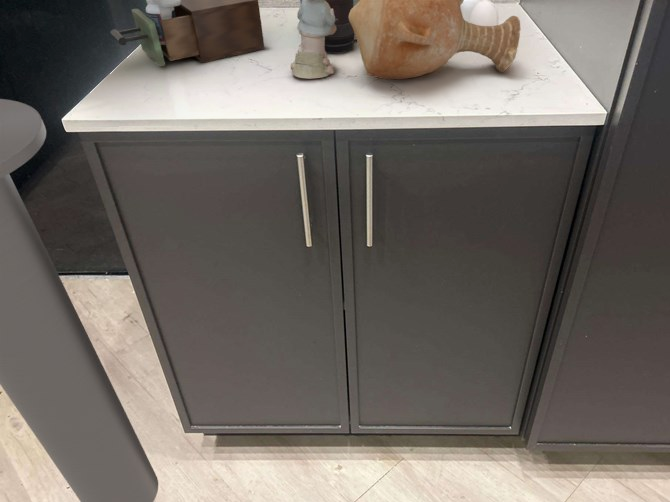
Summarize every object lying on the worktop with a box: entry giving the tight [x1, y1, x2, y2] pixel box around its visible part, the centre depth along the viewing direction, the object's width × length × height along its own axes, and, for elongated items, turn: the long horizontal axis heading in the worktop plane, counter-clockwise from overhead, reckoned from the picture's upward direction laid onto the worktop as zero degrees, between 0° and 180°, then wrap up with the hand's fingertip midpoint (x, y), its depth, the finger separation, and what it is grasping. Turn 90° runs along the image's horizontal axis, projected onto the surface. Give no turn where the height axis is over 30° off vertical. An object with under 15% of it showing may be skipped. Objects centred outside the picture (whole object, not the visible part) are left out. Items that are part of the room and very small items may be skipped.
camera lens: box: [324, 0, 354, 54], centre depth 113 cm, size 8×8×15 cm
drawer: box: [110, 6, 199, 67], centre depth 112 cm, size 18×11×8 cm, turn 123°
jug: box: [348, 0, 522, 80], centre depth 101 cm, size 20×19×30 cm
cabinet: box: [179, 0, 266, 64], centre depth 116 cm, size 14×13×10 cm
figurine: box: [290, 0, 336, 80], centre depth 101 cm, size 9×8×20 cm
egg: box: [469, 0, 500, 26], centre depth 118 cm, size 6×6×8 cm
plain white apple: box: [460, 0, 483, 22], centre depth 127 cm, size 7×7×8 cm
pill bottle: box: [145, 0, 176, 45], centre depth 110 cm, size 5×5×9 cm
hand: (162, 21), depth 110 cm, fingers closed on pill bottle, 5 cm apart
